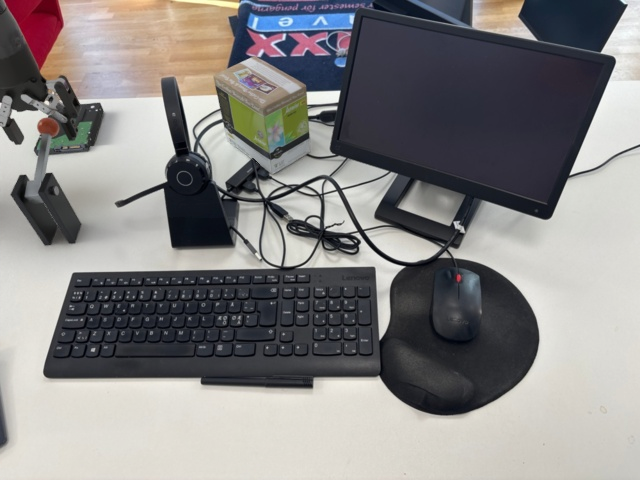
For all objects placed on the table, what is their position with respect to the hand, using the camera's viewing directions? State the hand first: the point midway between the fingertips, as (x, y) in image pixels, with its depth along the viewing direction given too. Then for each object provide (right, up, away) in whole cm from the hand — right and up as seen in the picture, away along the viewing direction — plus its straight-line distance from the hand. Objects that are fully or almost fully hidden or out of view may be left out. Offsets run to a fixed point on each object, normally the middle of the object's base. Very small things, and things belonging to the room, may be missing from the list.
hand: (47, 139), depth 83 cm
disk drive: (-7, +5, +23) cm, 25 cm away
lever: (0, -4, 0) cm, 4 cm away
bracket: (+1, -16, +4) cm, 17 cm away
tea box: (+34, +2, +18) cm, 39 cm away
